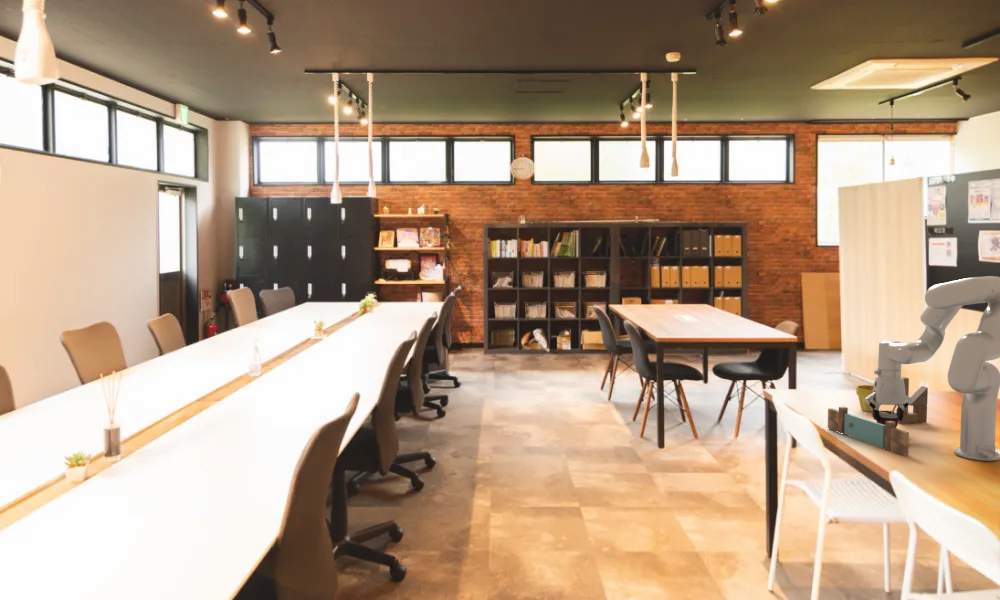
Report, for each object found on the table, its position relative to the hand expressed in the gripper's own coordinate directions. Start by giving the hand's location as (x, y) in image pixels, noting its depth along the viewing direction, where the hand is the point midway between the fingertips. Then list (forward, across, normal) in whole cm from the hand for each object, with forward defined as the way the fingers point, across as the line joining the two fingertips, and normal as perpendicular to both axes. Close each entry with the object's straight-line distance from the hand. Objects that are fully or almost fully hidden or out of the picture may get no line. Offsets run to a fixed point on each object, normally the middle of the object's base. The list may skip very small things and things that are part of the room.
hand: (887, 419), depth 257 cm
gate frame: (+5, -13, -11) cm, 18 cm away
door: (+5, -14, -11) cm, 18 cm away
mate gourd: (+5, 0, 0) cm, 5 cm away
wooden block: (+5, +16, +16) cm, 23 cm away
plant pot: (+6, +9, +36) cm, 37 cm away
